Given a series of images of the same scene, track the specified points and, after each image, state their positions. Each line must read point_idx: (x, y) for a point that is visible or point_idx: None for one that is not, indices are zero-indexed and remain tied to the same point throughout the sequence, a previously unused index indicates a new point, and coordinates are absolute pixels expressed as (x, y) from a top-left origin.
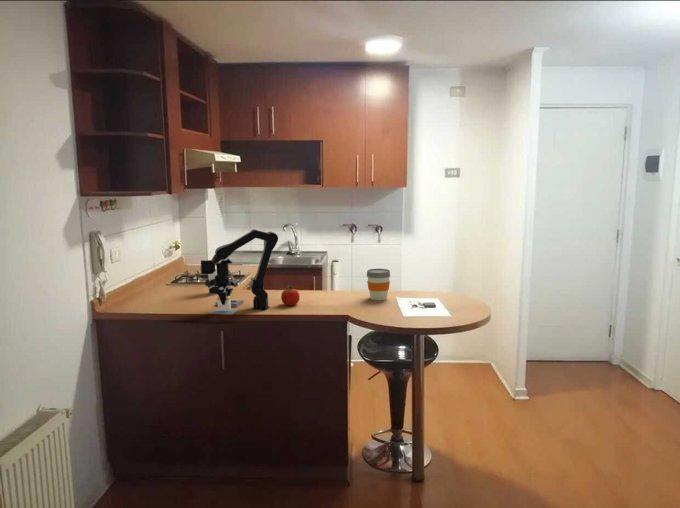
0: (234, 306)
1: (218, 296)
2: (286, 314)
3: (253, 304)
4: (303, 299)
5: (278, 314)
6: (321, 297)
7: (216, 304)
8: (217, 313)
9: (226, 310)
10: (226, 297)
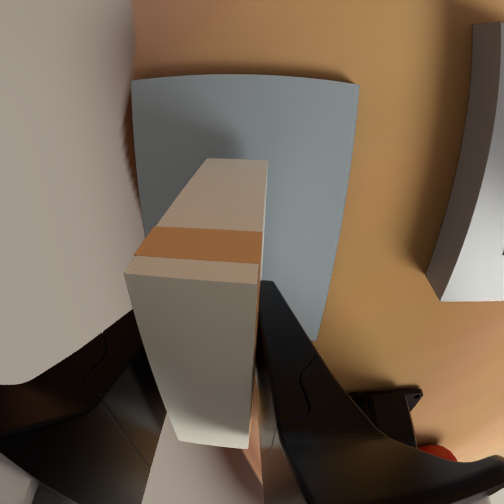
0: (438, 259)
1: (170, 292)
2: (261, 473)
3: (373, 415)
4: (475, 444)
5: (256, 463)
6: (474, 458)
7: (489, 35)
8: (139, 182)
9: (273, 236)
10: (175, 421)
